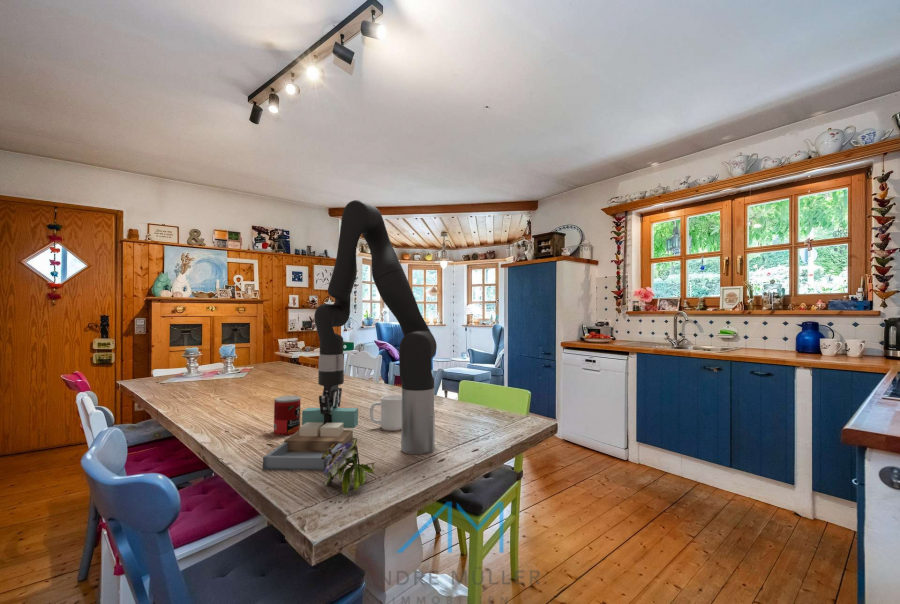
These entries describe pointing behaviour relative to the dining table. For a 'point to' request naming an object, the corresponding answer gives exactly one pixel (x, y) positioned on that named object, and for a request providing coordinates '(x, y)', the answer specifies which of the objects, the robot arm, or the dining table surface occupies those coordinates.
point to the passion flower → (339, 463)
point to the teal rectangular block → (338, 416)
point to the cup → (389, 412)
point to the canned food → (286, 415)
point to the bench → (316, 442)
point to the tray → (296, 459)
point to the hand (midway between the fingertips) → (330, 424)
